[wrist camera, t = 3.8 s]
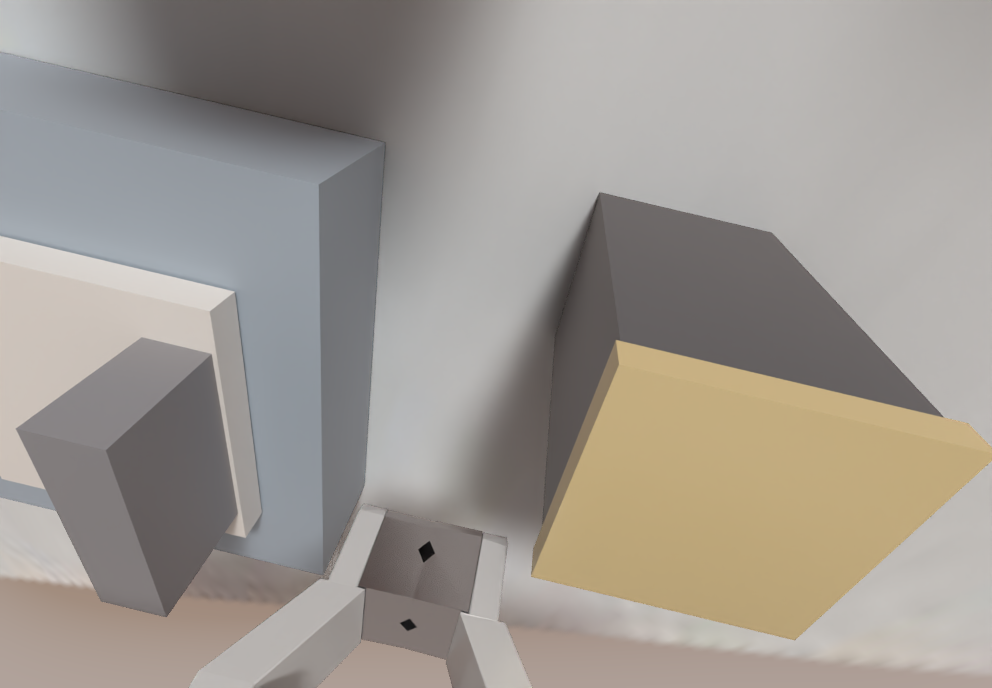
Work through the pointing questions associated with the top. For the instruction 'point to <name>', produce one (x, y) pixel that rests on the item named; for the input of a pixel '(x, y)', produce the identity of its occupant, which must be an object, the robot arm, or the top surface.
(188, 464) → the panel
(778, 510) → the plug
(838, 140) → the top surface
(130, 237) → the socket block
